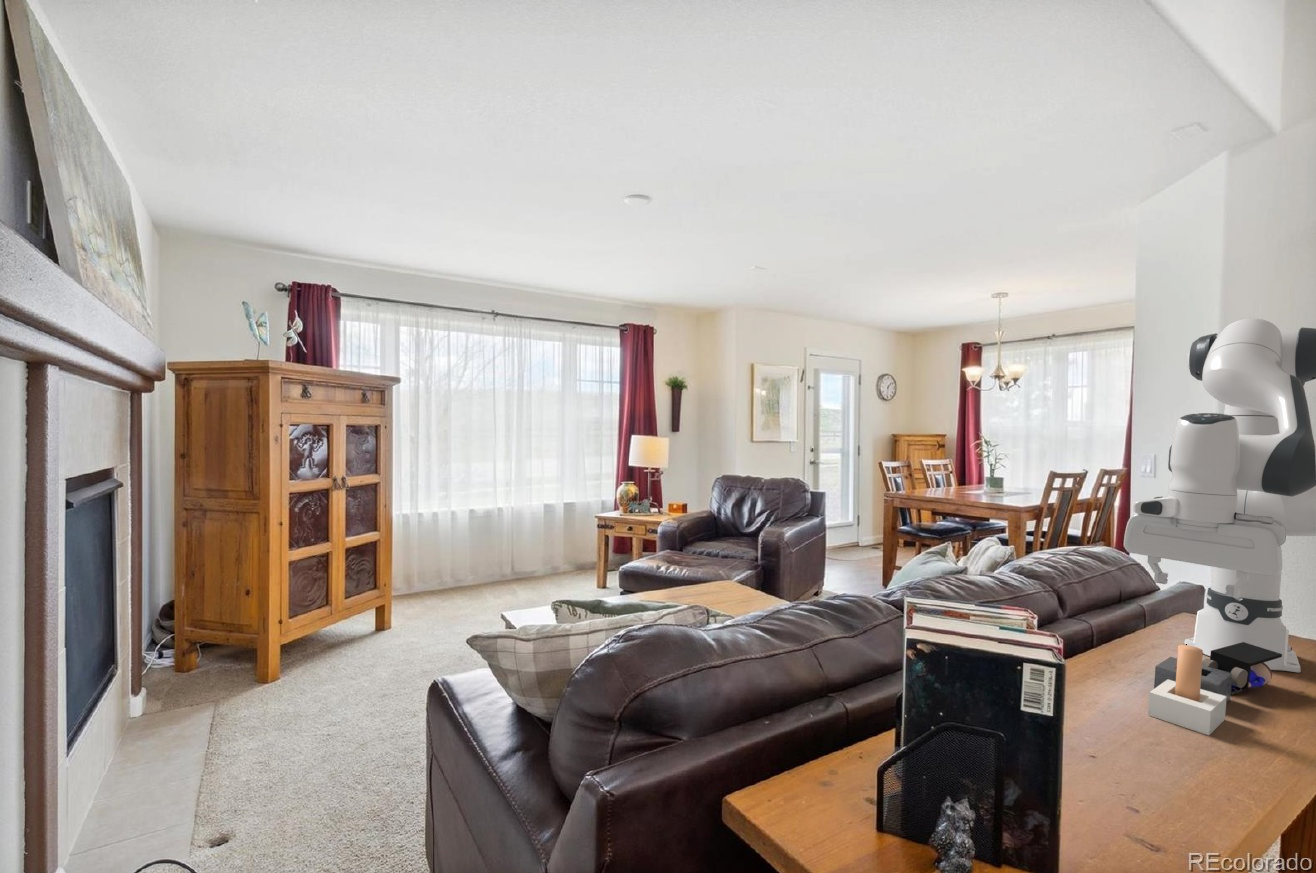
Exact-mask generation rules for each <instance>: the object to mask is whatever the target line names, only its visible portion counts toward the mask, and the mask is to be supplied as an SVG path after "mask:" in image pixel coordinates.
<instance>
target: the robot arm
mask: <svg viewBox="0 0 1316 873" xmlns="http://www.w3.org/2000/svg"><path fill="white" fill-rule="evenodd" d="M1186 363H1187V367H1188V370H1189V373H1190V375H1191V376H1192V377H1193V378H1194V379H1196V380H1198V381H1201V382H1202V384H1203V387H1204V389H1205V390H1206V392H1207V393H1208V394H1209V395H1210V396H1211V397H1212V398H1214V399H1215V400H1217V401H1219V402H1220V403H1222V404H1224V410H1223V413H1217V412H1216V413H1214V412H1211V413H1210V412H1209V413H1207V412H1203V413H1202V412H1201V413H1199V412H1198V413H1191V414H1190V413H1189V414H1186V415H1183V416H1181V417H1179V418H1178V420H1177V423H1176V425H1175V429H1174V432H1173V433H1174V434H1173V436H1172V442H1171V445H1170V446H1169V451H1168V463H1167V465H1168V467H1167V468H1168V470H1169V471H1170V472H1171V480H1170V483H1169V485H1168V490H1167V495H1166V496H1155V497H1153V498H1148V499H1147V498H1146V499H1141V500H1138V501H1135V502H1134V503H1133V507H1132V508H1133V512H1134V513H1135V514H1133V515H1131V516H1130V517H1129V519H1128V521H1127V523H1126V526H1125V531H1124V537H1123V538H1124V539H1123V548H1124V549H1125V550H1126V552H1128V553H1129V554H1135V555H1136V554H1137V555H1139V556H1140V555H1141V556H1146V557H1147V561H1146V562H1147V564H1148V565H1149V567H1150V569H1151V570H1152V573H1154V579H1153V580H1154V583H1156V584H1160V585H1161V584H1163V585H1166V584H1168V577H1169V573H1168V572H1163V571H1162V568H1161V567H1160V564H1159V563H1160V562H1162V559H1166V560H1171V561H1178V562H1183V563H1189V564H1195V565H1202V566H1206V567H1210V586H1209V587H1208V588H1207V592H1206V596H1205V597H1206V604H1207V605H1206V606H1205V607H1203V608H1202V609H1200V610H1197V613H1196V619H1195V625H1194V632H1193V637H1190V638H1185V639H1184V643H1183V645H1186V644H1187V645H1189V646H1193V647H1197V648H1200V649H1202V650H1203V654H1204V655H1206V656H1209V657H1210V655H1211V651H1212V650H1216V649H1219V648H1223V647H1227V646H1230V645H1234V644H1238V643H1241V642H1245V643H1248V644H1251V645H1254V646H1258V647H1261V648H1264V649H1267V650H1271V651H1274V652H1277V653H1280V654H1282V657H1280V658H1277V659H1274V660H1270V661H1267V662H1264V663H1265V664H1266V665H1267V666H1268V667H1269V668H1270V669H1271V671H1284V672H1285V671H1286V672H1292V673H1293V672H1294V673H1301V672H1302V670H1301V669H1302V668H1301V665H1300V663H1299V659H1298V657H1297V654H1296V651H1294V650H1293V647H1292V645H1289V629H1287V626H1286V625H1284V622H1283V621H1282V619H1281V617H1282V616H1283V609H1284V608H1283V607H1284V605H1283V601H1282V599H1281V598H1280V595H1281V584H1282V583H1281V581H1282V570H1283V553H1282V546H1283V545H1284V544H1285V542H1286V540H1287V537H1316V444H1315V440H1314V435H1313V427H1312V421H1311V414H1310V411H1309V410H1310V408H1309V405H1308V399H1307V395H1306V392H1305V384H1306V383H1309V382H1310V381H1314V380H1316V328H1315V327H1314V328H1313V327H1301V328H1278V327H1277V325H1275V324H1274V323H1273V322H1271V321H1269V320H1266V319H1263V318H1256V317H1255V318H1254V317H1253V318H1251V317H1249V318H1244V319H1243V318H1242V319H1239V320H1236V321H1234V322H1232V323H1228V325H1227V326H1225V327H1224V328H1223V329H1222V330H1221V331H1220V333H1219V334H1218V333H1217V332H1216V333H1211V334H1207V335H1203V336H1200V337H1198V338H1197V339H1195V340H1194V341H1192V343H1191V345H1190V348H1189V350H1188V352H1187V356H1186Z"/></svg>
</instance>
